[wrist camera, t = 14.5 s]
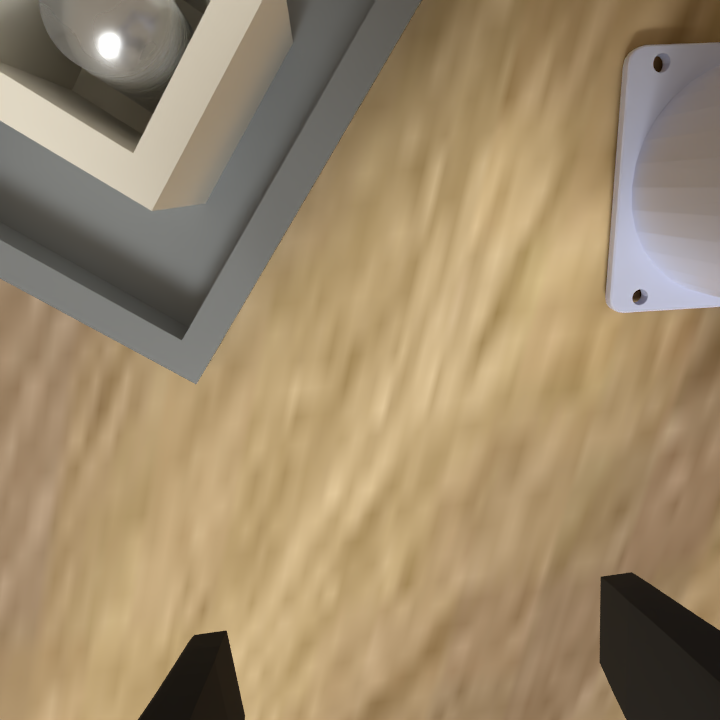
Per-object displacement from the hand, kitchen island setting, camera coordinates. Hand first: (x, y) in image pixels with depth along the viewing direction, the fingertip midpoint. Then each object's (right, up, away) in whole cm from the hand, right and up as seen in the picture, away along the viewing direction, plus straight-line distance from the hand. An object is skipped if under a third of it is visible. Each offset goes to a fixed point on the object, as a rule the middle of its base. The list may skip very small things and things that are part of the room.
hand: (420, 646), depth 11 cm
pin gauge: (-6, +13, +5) cm, 16 cm away
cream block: (-7, +14, +5) cm, 16 cm away
